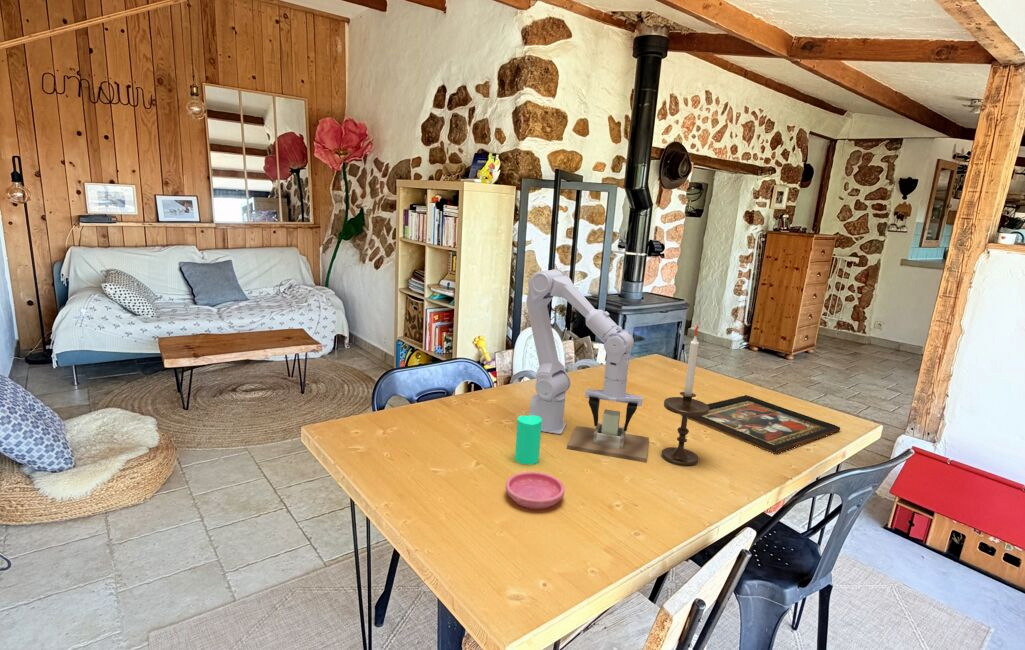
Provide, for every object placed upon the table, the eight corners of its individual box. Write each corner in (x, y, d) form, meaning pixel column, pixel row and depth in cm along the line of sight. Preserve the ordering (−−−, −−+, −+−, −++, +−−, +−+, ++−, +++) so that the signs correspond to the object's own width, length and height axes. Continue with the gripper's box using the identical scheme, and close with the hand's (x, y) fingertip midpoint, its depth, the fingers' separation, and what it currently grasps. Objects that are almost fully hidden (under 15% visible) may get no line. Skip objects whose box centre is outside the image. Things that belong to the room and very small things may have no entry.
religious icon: (791, 462, 144) (793, 451, 144) (673, 420, 170) (674, 411, 170) (844, 431, 169) (845, 422, 169) (734, 398, 195) (735, 390, 194)
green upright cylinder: (542, 456, 138) (545, 411, 135) (535, 467, 132) (538, 419, 130) (519, 452, 140) (522, 406, 137) (511, 462, 134) (514, 414, 132)
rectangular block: (600, 443, 146) (603, 414, 144) (602, 437, 149) (605, 409, 148) (615, 445, 145) (618, 416, 143) (617, 440, 148) (620, 411, 147)
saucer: (572, 510, 115) (573, 496, 114) (514, 517, 111) (515, 502, 110) (551, 481, 126) (552, 468, 125) (498, 486, 122) (499, 473, 122)
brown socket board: (566, 448, 143) (567, 434, 143) (575, 428, 157) (576, 415, 156) (646, 462, 138) (648, 447, 137) (648, 440, 152) (650, 427, 151)
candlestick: (701, 471, 135) (721, 330, 128) (655, 462, 139) (672, 324, 131) (702, 454, 145) (721, 322, 138) (659, 445, 149) (675, 317, 141)
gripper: (585, 378, 142) (580, 428, 145) (643, 386, 138) (637, 437, 141) (589, 370, 148) (584, 418, 151) (645, 378, 145) (639, 427, 147)
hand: (610, 427), depth 146 cm, fingers open, 7 cm apart
